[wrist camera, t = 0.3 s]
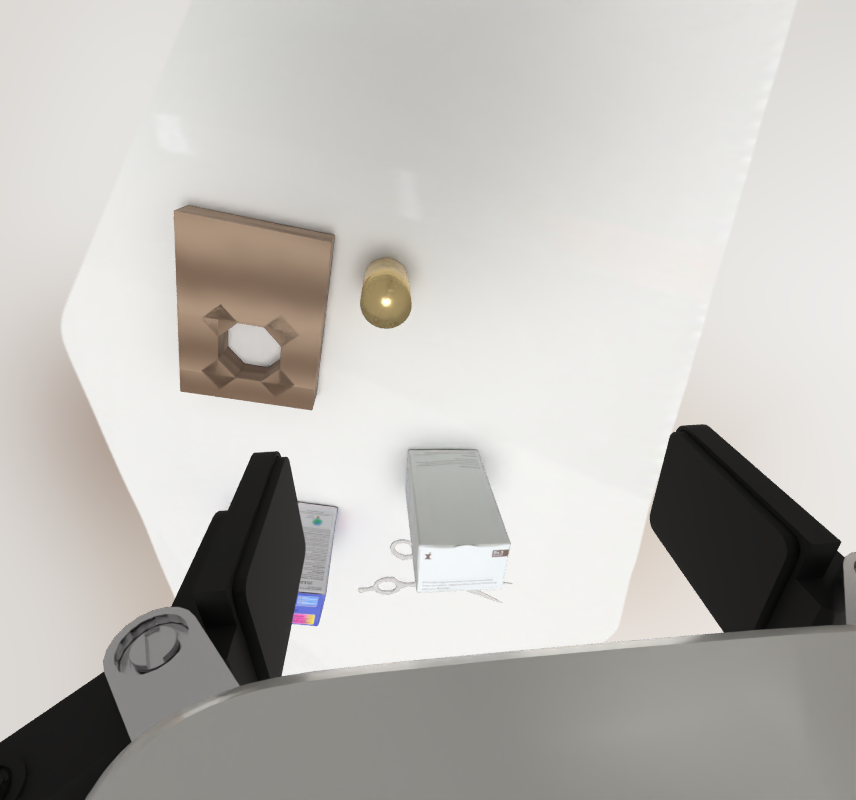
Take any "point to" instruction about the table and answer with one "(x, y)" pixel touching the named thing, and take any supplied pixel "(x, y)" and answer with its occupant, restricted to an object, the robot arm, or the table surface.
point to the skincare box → (454, 522)
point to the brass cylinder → (385, 294)
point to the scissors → (405, 584)
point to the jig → (250, 304)
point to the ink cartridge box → (314, 561)
